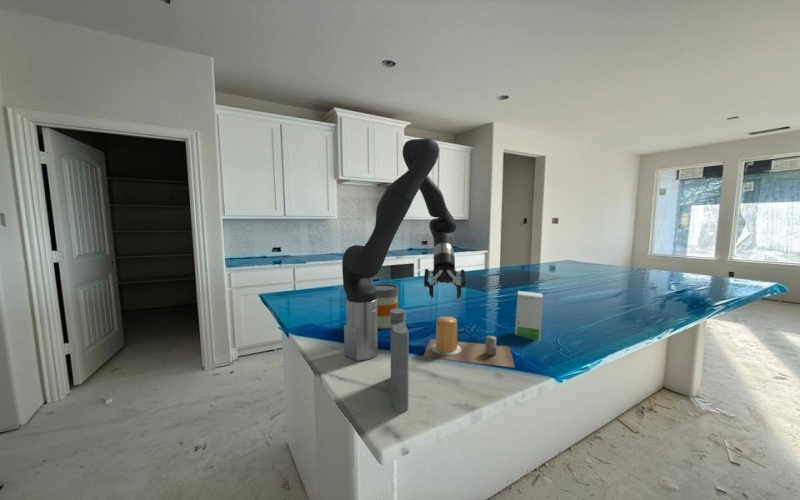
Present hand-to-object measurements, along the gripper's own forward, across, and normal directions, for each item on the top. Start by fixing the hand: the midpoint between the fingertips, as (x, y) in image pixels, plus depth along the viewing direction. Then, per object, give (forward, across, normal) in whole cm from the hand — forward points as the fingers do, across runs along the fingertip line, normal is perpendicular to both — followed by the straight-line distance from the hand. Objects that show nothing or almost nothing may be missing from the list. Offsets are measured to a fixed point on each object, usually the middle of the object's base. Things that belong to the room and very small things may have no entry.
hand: (445, 296), depth 101 cm
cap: (+16, 0, +3) cm, 17 cm away
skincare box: (+6, +30, +16) cm, 34 cm away
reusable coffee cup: (0, -23, +22) cm, 32 cm away
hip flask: (+33, -13, -11) cm, 37 cm away
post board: (+18, +6, +4) cm, 20 cm away
